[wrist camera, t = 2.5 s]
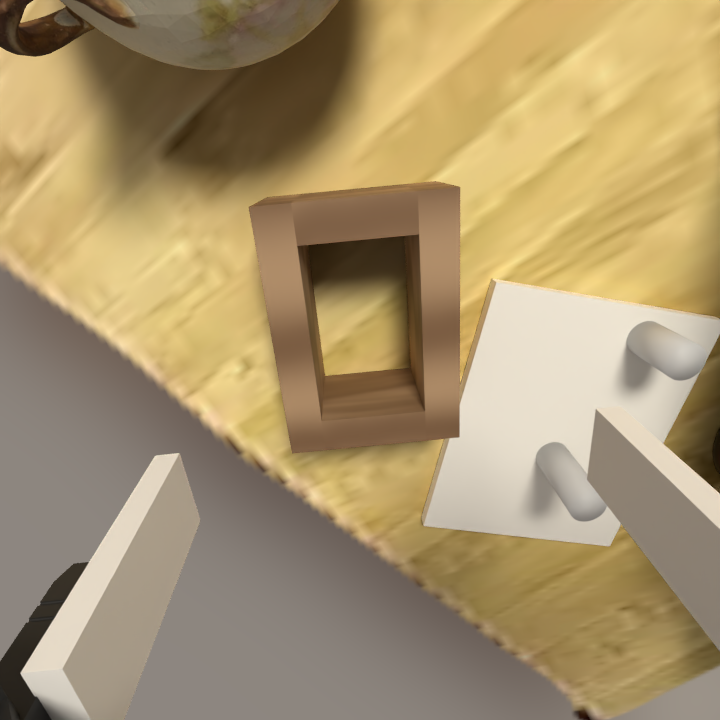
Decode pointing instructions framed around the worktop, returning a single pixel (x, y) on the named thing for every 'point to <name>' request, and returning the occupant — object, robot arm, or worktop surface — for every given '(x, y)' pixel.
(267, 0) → the sugar bowl
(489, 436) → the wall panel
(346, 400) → the frame
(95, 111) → the worktop surface
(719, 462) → the vase
